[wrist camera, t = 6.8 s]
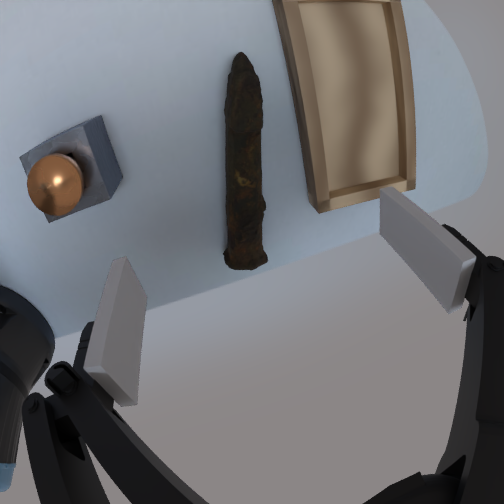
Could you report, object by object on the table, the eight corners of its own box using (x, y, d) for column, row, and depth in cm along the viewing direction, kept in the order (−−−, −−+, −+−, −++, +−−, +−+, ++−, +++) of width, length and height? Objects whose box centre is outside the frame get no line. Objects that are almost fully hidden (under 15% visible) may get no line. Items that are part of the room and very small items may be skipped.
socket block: (67, 198, 25) (48, 223, 21) (44, 141, 22) (19, 157, 18) (122, 176, 26) (110, 199, 21) (101, 115, 22) (82, 125, 18)
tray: (309, 202, 30) (318, 213, 28) (271, -5, 19) (279, -12, 17) (401, 179, 31) (415, 188, 29) (383, -6, 19) (398, -9, 17)
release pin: (70, 188, 25) (42, 223, 19) (53, 146, 22) (18, 171, 17) (111, 172, 25) (90, 204, 19) (95, 127, 22) (66, 146, 17)
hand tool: (260, 248, 33) (271, 275, 29) (222, 251, 32) (227, 279, 28) (270, 55, 22) (286, 52, 19) (222, 54, 22) (229, 50, 18)
